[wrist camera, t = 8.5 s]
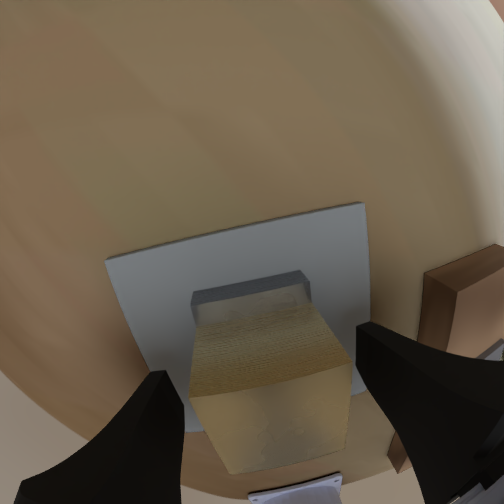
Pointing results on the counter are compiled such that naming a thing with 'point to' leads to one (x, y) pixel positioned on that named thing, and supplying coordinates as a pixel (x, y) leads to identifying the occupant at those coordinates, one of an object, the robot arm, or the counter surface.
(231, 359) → the tan small block
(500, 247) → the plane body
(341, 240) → the slate mat
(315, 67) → the counter surface
